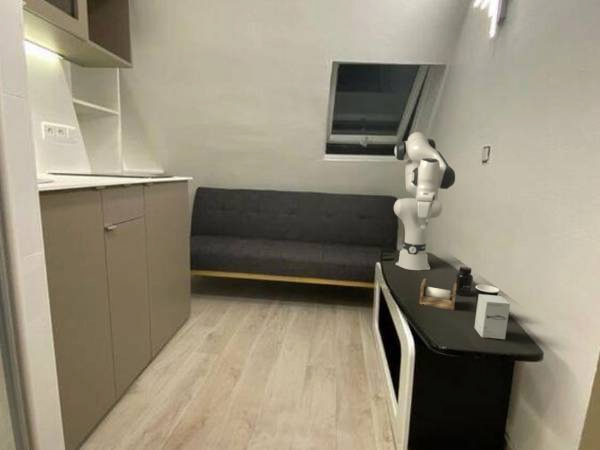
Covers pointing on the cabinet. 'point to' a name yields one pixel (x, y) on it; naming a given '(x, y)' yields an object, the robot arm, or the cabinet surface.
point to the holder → (435, 301)
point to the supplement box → (492, 316)
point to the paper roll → (438, 293)
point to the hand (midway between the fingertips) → (424, 227)
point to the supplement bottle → (464, 281)
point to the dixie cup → (485, 291)
